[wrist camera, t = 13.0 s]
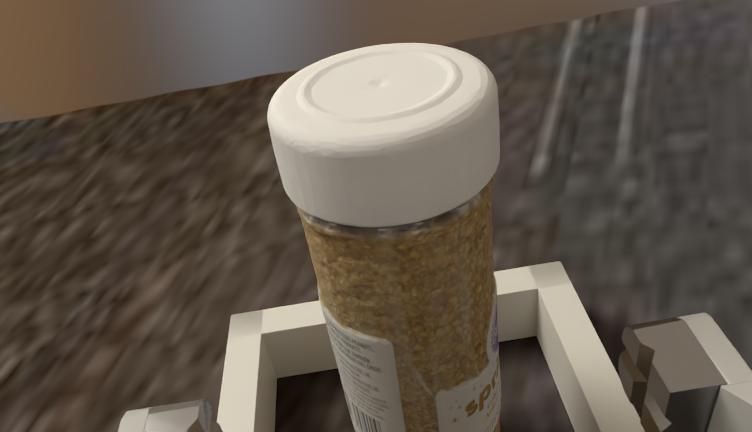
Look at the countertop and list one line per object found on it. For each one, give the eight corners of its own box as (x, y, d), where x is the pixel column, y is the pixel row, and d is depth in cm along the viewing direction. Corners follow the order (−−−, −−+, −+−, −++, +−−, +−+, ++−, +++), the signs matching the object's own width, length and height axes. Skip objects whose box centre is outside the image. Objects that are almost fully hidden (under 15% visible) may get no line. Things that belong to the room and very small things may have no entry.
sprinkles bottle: (527, 516, 18) (535, 107, 10) (376, 553, 18) (264, 164, 10) (480, 392, 22) (459, 19, 14) (354, 421, 22) (259, 58, 14)
